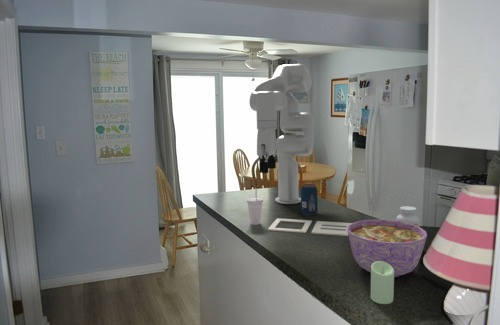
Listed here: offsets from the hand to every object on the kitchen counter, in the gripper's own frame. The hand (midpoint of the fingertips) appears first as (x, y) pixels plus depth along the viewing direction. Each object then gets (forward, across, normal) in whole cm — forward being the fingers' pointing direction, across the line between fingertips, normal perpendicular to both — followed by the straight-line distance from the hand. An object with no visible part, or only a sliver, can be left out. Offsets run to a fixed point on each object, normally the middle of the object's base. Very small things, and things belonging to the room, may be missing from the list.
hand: (267, 170), depth 146 cm
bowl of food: (+21, +32, +43) cm, 58 cm away
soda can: (+21, -19, +12) cm, 31 cm away
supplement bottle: (+21, +12, +49) cm, 55 cm away
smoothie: (+21, 0, -6) cm, 22 cm away
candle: (+21, +48, +42) cm, 68 cm away
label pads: (+21, 0, +16) cm, 27 cm away
